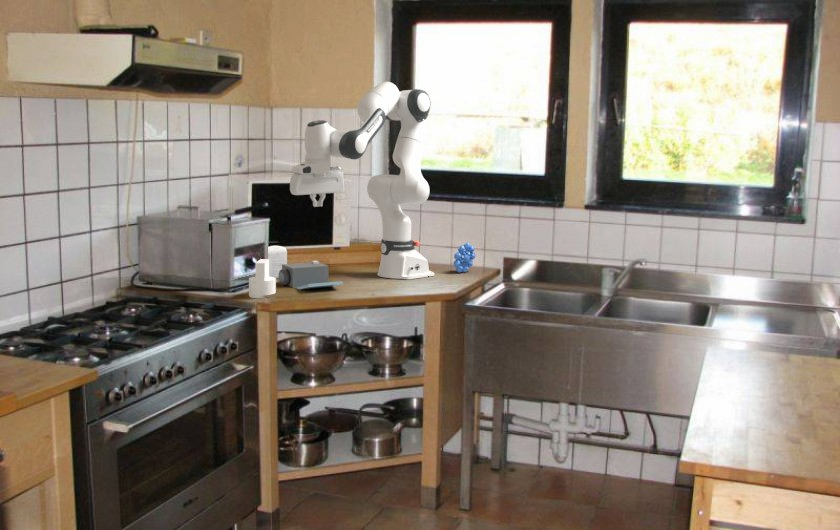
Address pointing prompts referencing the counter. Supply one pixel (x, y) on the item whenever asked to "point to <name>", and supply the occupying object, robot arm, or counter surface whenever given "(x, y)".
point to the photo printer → (276, 260)
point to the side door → (320, 285)
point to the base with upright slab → (262, 281)
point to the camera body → (303, 274)
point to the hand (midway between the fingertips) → (317, 206)
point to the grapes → (464, 258)
